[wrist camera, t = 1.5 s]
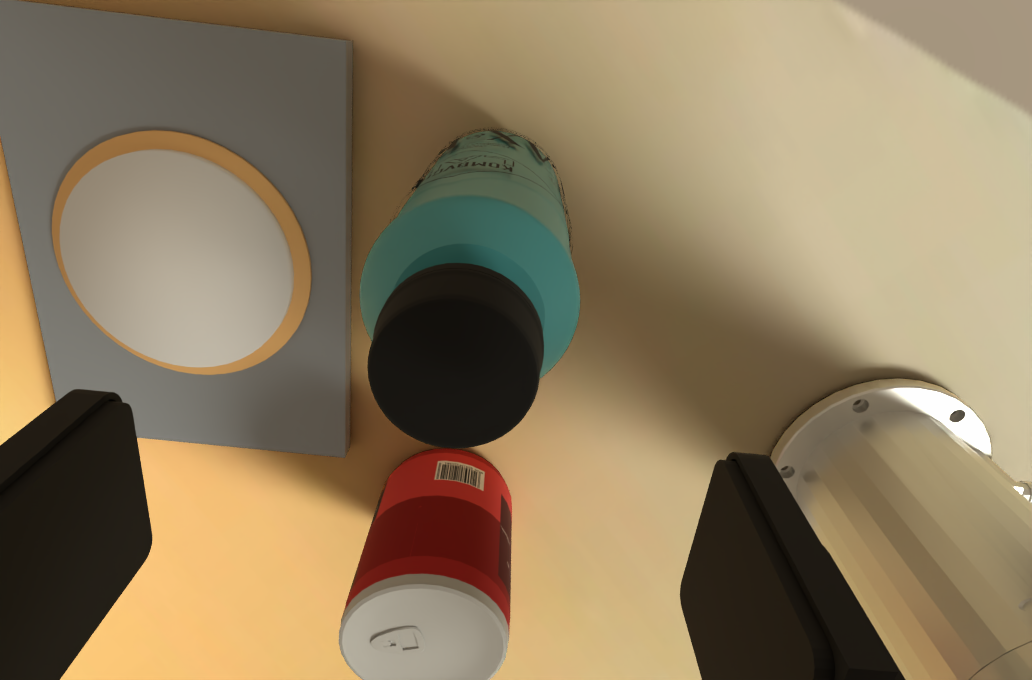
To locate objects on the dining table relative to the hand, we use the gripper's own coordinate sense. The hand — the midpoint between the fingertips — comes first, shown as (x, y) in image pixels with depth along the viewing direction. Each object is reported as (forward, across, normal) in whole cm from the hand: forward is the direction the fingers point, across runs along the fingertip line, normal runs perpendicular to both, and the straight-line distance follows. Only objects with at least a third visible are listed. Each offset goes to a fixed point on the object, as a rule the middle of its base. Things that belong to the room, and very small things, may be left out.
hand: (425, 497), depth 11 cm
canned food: (+24, +1, +19) cm, 31 cm away
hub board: (+24, +15, +5) cm, 29 cm away
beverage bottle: (+24, 0, 0) cm, 24 cm away
